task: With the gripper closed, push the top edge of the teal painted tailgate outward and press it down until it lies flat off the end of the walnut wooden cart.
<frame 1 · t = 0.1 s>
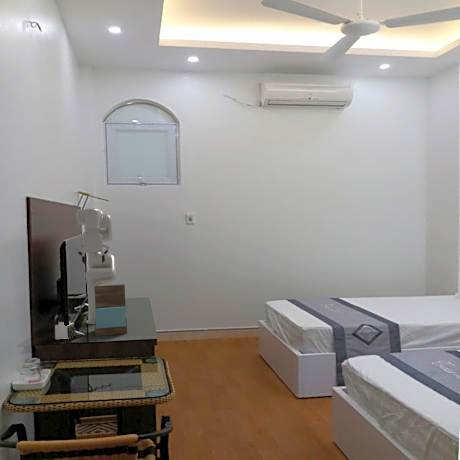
hand: (93, 263, 268), 37 cm above the table, tool pointing down, fingers open, 9 cm apart
cart: (111, 331, 265), on the table
tailgate: (110, 317, 257), point 9 cm above the table, hinge at 0.0°
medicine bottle: (65, 338, 255), on the table
architectural model: (116, 309, 336), on the table
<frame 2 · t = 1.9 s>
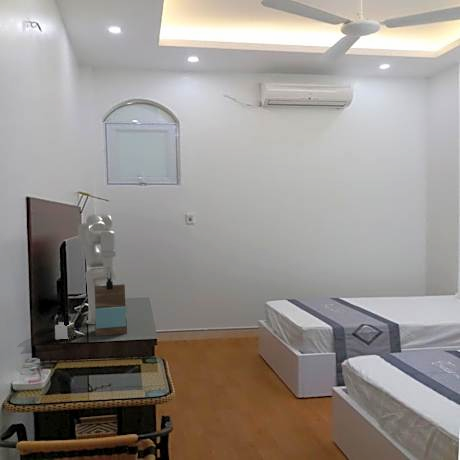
hand: (109, 289, 261), 23 cm above the table, tool pointing down, fingers closed
nothing on the table moved.
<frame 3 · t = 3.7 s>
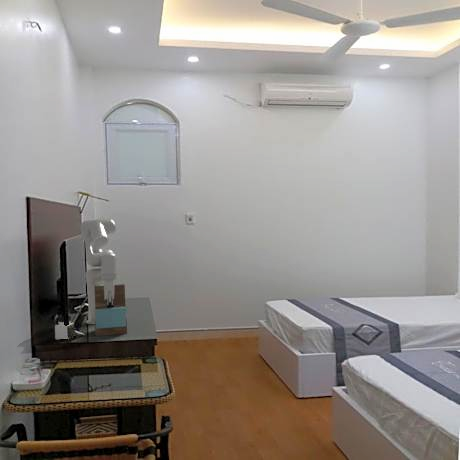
hand: (110, 312, 258), 12 cm above the table, tool pointing down, fingers closed
tailgate: (110, 317, 256), point 9 cm above the table, hinge at 7.1°, touching gripper
everything else where it was.
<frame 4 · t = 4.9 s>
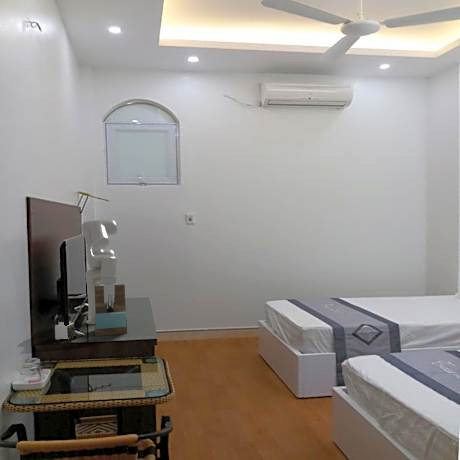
hand: (110, 315, 254), 11 cm above the table, tool pointing down, fingers closed
tailgate: (110, 320, 254), point 8 cm above the table, hinge at 35.7°, touching gripper
everything else where it was.
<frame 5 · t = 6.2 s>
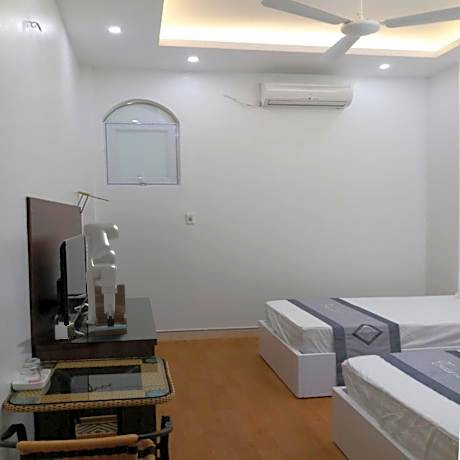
hand: (110, 326, 249), 6 cm above the table, tool pointing down, fingers closed
tailgate: (111, 327, 252), point 5 cm above the table, hinge at 80.9°, touching gripper
everything else where it was.
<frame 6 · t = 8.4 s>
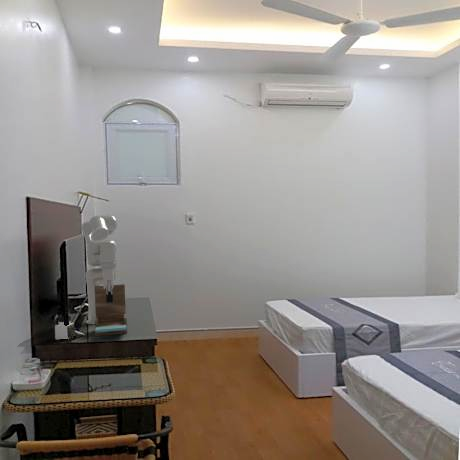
hand: (109, 302, 249), 18 cm above the table, tool pointing down, fingers closed
tailgate: (111, 328, 252), point 5 cm above the table, hinge at 86.2°
everything else where it was.
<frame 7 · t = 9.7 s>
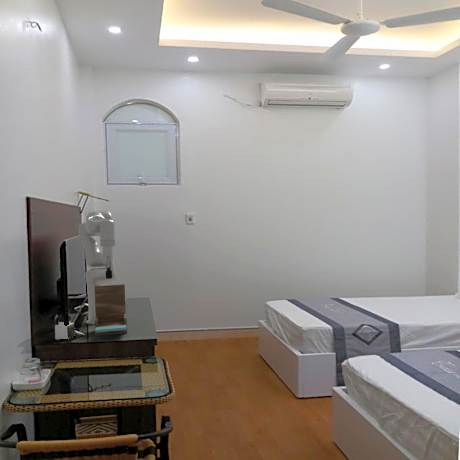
hand: (109, 278, 260), 29 cm above the table, tool pointing down, fingers closed
nothing on the table moved.
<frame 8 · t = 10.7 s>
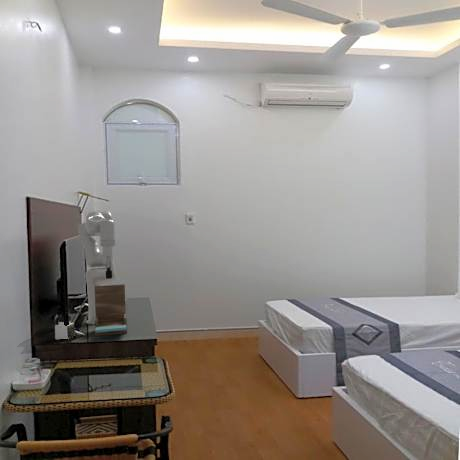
hand: (109, 278, 260), 29 cm above the table, tool pointing down, fingers closed
nothing on the table moved.
at the end: tailgate at +86° (first picture: +0°); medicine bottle moved 0.2 cm from its start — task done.
